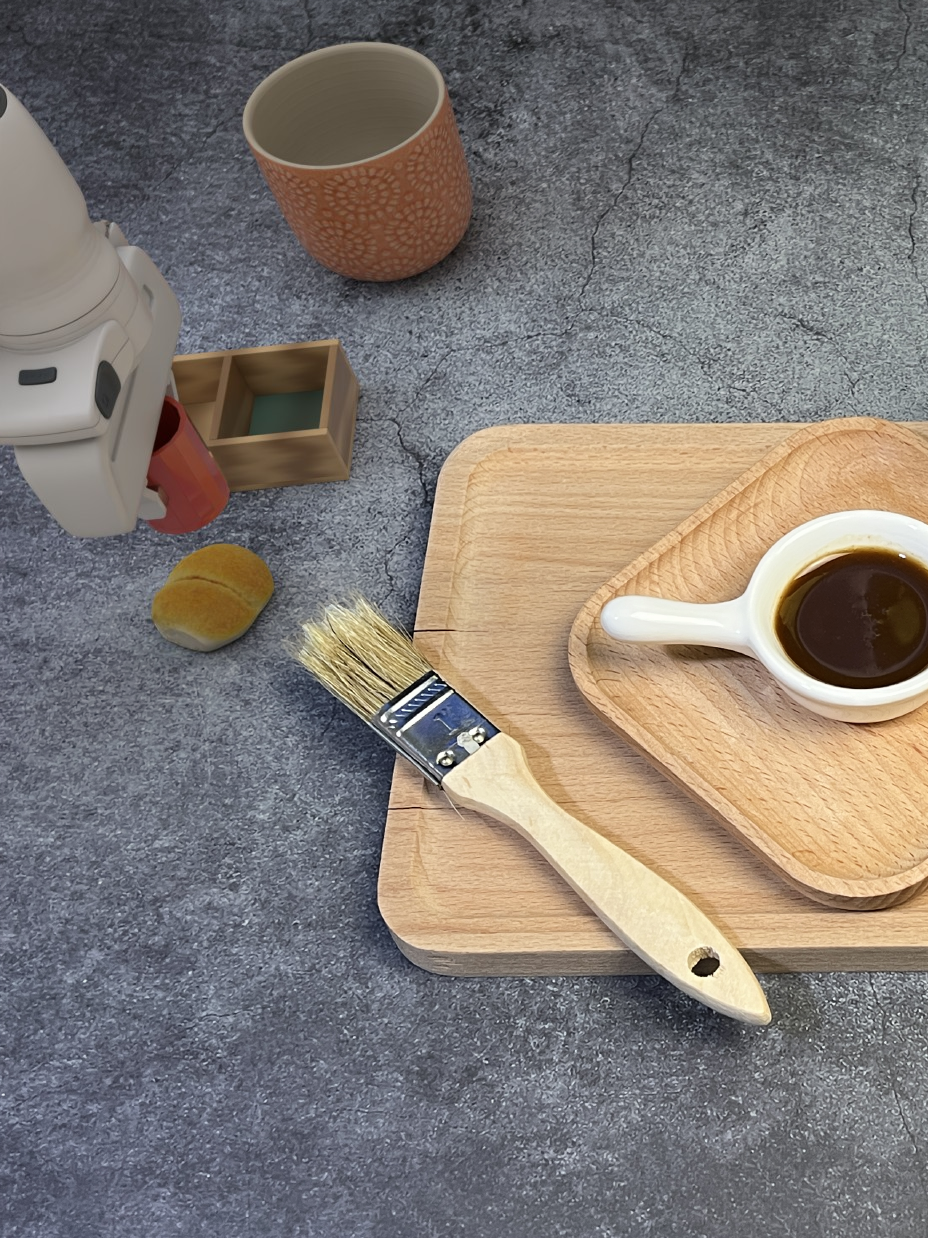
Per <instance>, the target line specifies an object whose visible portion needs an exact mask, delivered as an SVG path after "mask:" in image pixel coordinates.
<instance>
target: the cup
mask: <svg viewBox="0 0 928 1238" xmlns="http://www.w3.org/2000/svg"><path fill="white" fill-rule="evenodd" d="M146 478H147V481H148V482H147V486H146V487H148V486H154V485H158V484H160V485H161V486H162V488H163V489H164V491H165V495H168V497H169V501H168V506H167V511H166V516H165V517H164V518H162V519H152V520H144V522H145V523H146V525H148V526H149V528H151V529H152V530H154V531H156V532H158V533H162V534H166V535H183V534H189V533H193V532H194V531H198V530H199V529H202V528H204V527H206V526H207V525H209V524H210V523H212V522H213V521H214V520H216V519H217V518H218V517H219V516H220V514H222V513H223V511H224V510H225V508H226V506H227V504H228V501H229V498H230V493H231V492H230V489H229V484H228V482H227V480H226V478H225V476H224V474H223V472H222V470H221V468H220V467H219V465H218V463H217V462H216V460H215V458H214V457H213V455H212V453H211V452H210V450H209V448H208V447H207V445H206V443H205V442H204V440H203V438H202V437H201V435H200V434H199V432H198V430H197V429H196V427H195V425H194V424H193V422H192V420H191V419H190V417H189V415H188V414H187V412H186V410H185V409H184V407H183V406H182V404H180V403H179V402H178V401H176V400H175V399H174V398H172V397H170V396H165V398H164V402H163V407H162V411H161V415H160V420H159V424H158V428H157V433H156V437H155V442H154V446H153V450H152V455H151V459H150V464H149V468H148V472H147V477H146Z"/></svg>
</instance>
